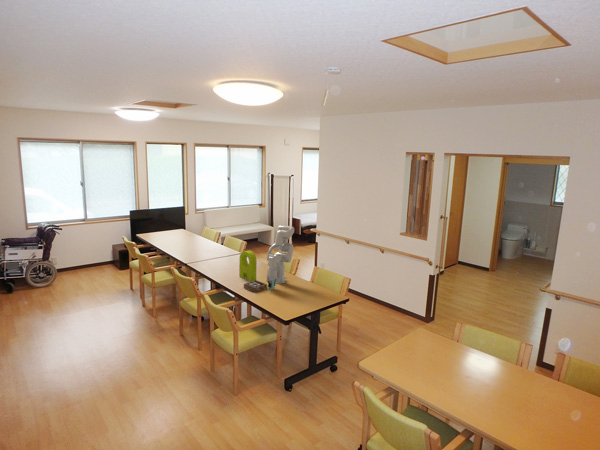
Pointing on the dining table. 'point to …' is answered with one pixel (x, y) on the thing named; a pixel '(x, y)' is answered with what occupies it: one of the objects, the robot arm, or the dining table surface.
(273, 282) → the connector
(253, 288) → the walled box
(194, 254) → the dining table surface
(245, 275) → the decorative object
